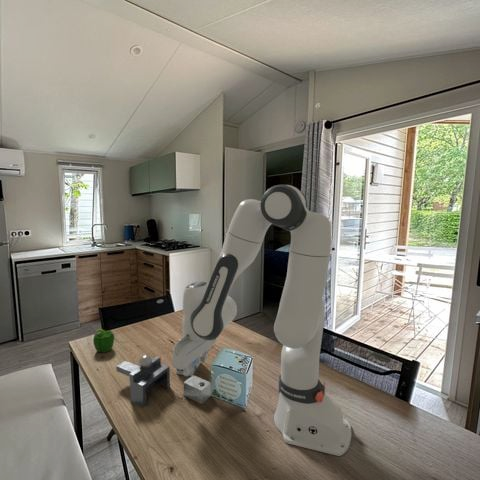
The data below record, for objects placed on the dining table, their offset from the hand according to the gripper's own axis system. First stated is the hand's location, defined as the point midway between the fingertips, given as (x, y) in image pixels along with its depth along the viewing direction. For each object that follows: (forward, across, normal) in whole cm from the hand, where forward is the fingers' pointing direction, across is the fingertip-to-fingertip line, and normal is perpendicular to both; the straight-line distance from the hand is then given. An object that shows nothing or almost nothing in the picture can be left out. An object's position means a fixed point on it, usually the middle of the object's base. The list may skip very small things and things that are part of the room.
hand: (195, 367), depth 99 cm
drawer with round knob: (+11, -7, +20) cm, 24 cm away
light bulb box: (+11, +12, +12) cm, 20 cm away
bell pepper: (+12, +5, +54) cm, 56 cm away
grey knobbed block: (+10, 0, -1) cm, 10 cm away
